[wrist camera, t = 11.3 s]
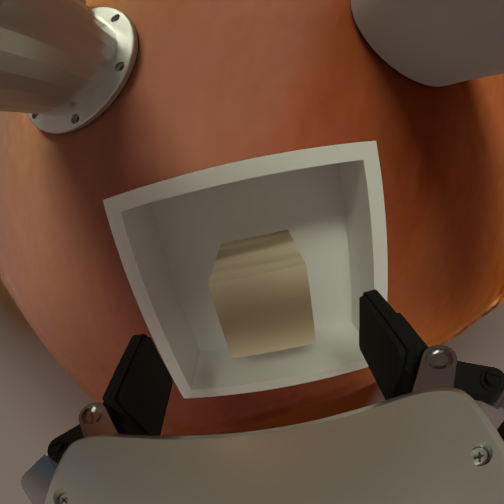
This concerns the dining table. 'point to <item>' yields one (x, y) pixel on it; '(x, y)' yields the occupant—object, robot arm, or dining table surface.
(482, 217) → the dining table surface
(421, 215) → the dining table surface
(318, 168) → the bin
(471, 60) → the cylinder vase
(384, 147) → the dining table surface
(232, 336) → the birch block
